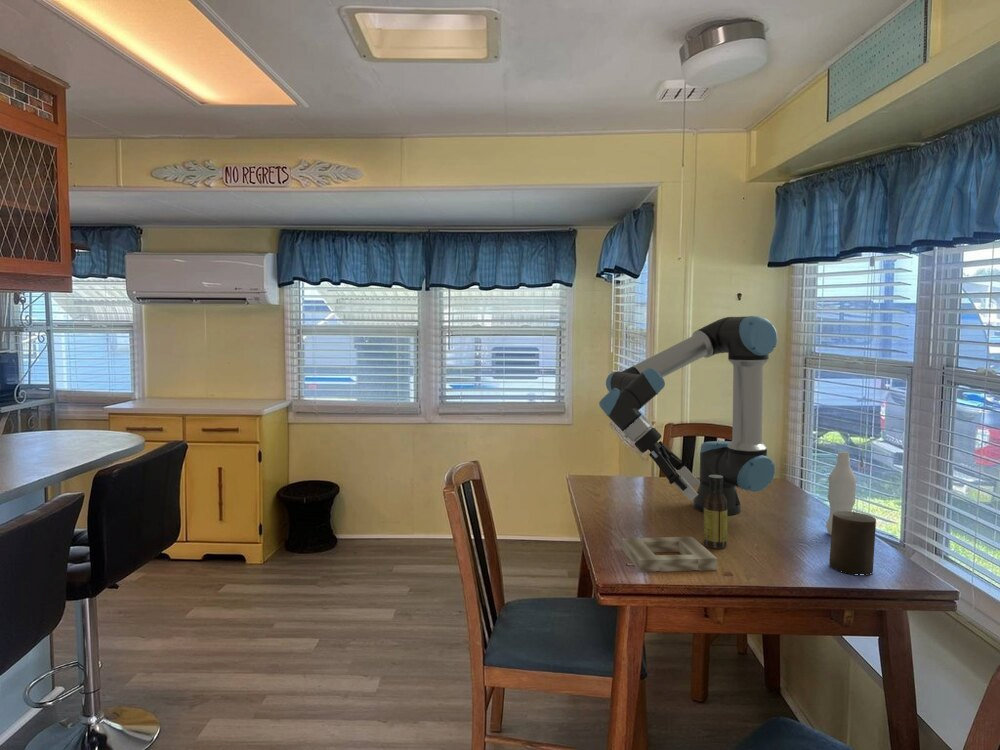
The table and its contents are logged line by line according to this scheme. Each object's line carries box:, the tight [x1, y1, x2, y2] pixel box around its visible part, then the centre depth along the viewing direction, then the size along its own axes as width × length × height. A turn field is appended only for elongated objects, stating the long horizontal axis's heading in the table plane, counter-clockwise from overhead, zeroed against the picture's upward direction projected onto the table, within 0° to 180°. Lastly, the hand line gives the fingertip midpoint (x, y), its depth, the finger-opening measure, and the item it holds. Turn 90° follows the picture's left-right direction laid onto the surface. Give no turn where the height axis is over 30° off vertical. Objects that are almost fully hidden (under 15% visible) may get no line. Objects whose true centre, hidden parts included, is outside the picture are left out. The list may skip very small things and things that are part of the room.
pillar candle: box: [828, 510, 877, 576], centre depth 155 cm, size 10×10×15 cm
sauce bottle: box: [703, 475, 728, 550], centre depth 170 cm, size 6×6×20 cm
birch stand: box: [621, 536, 718, 573], centre depth 160 cm, size 20×16×3 cm
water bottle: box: [825, 450, 857, 536], centre depth 179 cm, size 7×7×25 cm
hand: (695, 491), depth 171 cm, fingers open, 13 cm apart
